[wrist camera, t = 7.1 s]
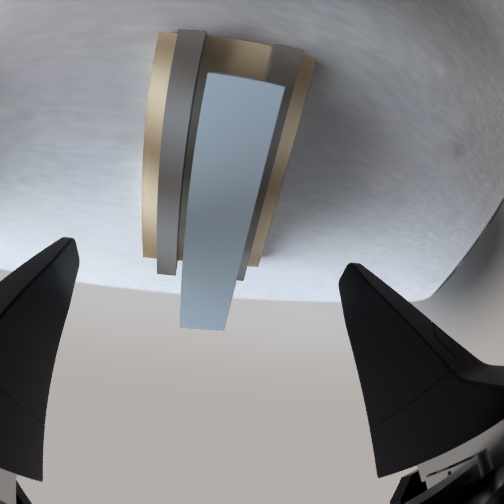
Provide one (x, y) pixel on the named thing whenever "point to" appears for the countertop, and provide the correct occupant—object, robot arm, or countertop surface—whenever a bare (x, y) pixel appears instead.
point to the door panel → (224, 191)
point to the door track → (185, 131)
